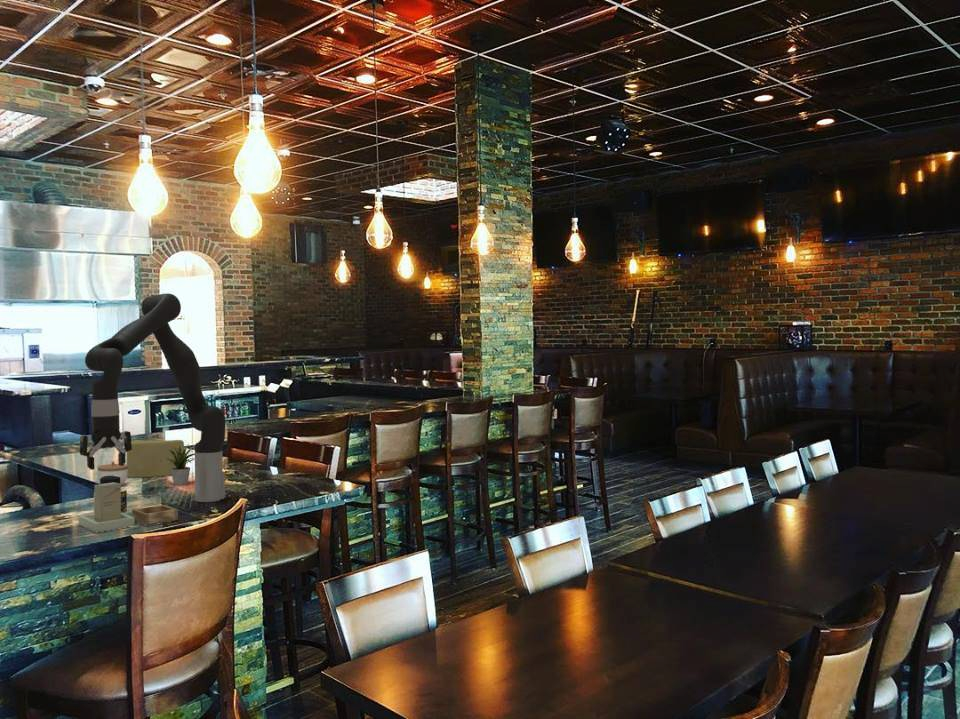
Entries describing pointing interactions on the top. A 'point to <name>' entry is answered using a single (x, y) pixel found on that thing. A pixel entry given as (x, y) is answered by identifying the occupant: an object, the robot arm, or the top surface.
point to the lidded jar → (113, 471)
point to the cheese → (151, 458)
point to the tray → (105, 523)
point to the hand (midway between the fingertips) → (106, 467)
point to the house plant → (180, 465)
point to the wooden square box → (155, 514)
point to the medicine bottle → (123, 492)
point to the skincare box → (107, 502)
